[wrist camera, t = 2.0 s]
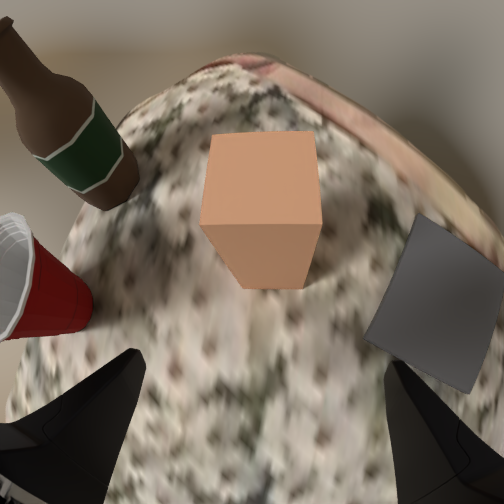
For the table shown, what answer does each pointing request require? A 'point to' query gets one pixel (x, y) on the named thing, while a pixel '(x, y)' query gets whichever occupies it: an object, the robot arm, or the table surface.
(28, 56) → the beer bottle
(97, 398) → the robot arm
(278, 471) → the table surface
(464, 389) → the mat
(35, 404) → the table surface
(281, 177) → the block
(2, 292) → the plastic cup
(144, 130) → the table surface
